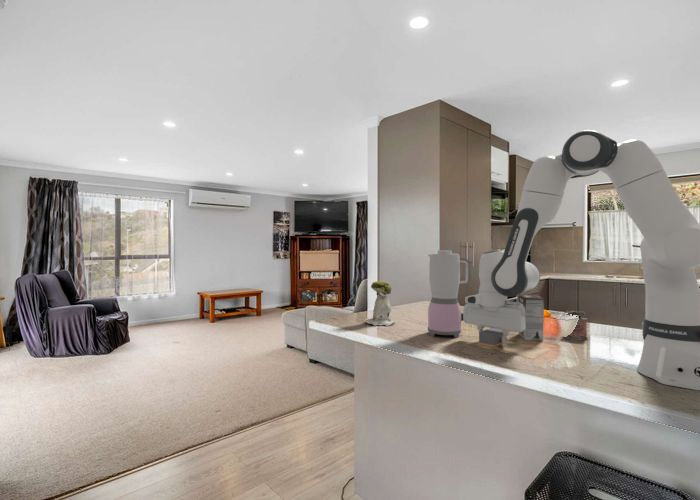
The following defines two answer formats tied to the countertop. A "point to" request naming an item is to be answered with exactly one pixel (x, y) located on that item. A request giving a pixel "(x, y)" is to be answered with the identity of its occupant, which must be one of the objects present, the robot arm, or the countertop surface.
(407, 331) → the countertop surface
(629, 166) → the robot arm
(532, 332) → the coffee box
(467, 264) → the blender
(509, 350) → the oak board
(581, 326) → the maroon upright canister
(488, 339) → the block
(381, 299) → the stone planter with plant
